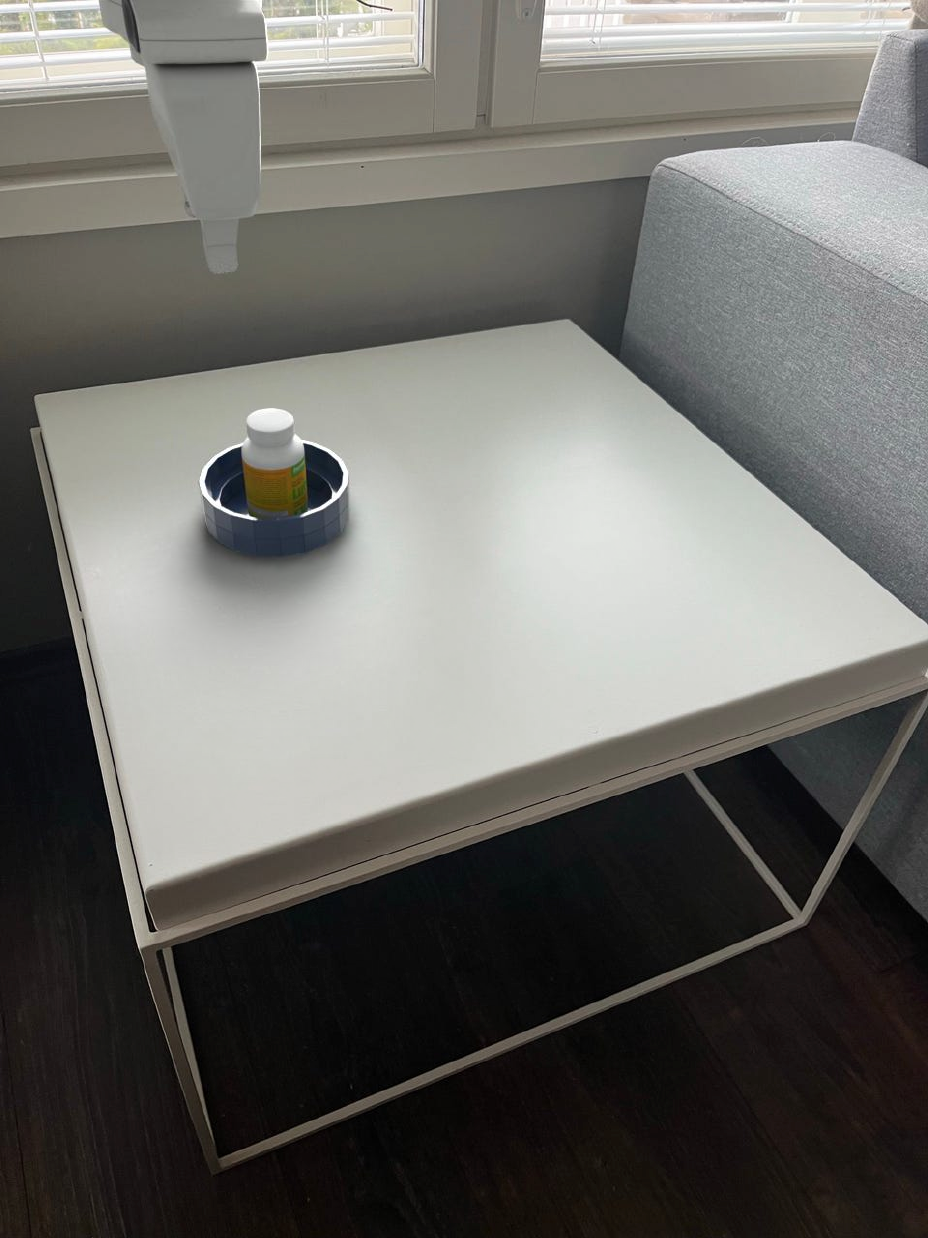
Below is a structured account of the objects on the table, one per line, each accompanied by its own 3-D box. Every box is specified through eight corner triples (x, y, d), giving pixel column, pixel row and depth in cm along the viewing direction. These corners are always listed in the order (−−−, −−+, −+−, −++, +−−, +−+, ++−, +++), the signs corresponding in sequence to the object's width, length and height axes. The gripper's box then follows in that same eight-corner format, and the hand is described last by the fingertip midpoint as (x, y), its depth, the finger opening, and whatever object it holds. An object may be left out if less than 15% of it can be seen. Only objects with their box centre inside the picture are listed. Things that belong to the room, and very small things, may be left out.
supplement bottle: (303, 532, 87) (297, 438, 80) (243, 528, 87) (231, 434, 80) (312, 497, 91) (306, 405, 84) (254, 494, 91) (244, 401, 84)
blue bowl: (218, 574, 83) (212, 531, 80) (195, 489, 92) (189, 448, 89) (365, 548, 87) (365, 507, 84) (330, 469, 95) (328, 429, 92)
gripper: (104, -45, 60) (141, 187, 69) (141, 33, 46) (182, 310, 55) (208, -44, 62) (230, 182, 71) (273, 31, 48) (291, 300, 57)
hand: (209, 239), depth 63 cm, fingers open, 8 cm apart
